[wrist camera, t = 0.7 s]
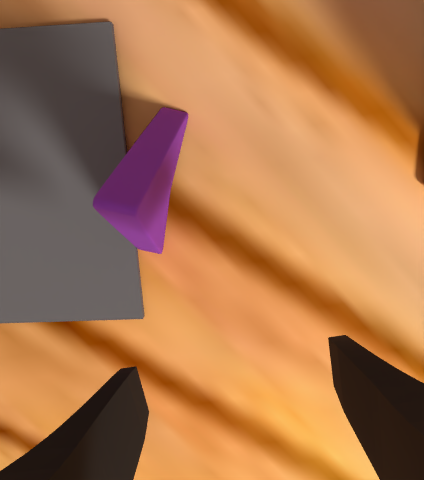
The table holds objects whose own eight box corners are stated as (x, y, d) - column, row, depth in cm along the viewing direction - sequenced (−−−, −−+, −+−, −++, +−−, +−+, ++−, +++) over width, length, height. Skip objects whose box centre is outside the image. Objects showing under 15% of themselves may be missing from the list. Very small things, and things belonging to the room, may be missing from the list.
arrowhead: (161, 176, 25) (162, 45, 16) (182, 181, 25) (194, 52, 16) (120, 300, 20) (90, 202, 11) (146, 306, 20) (136, 213, 11)
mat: (113, 24, 19) (110, 21, 18) (144, 316, 23) (143, 318, 23) (-126, 39, 19) (-134, 37, 19) (-51, 322, 24) (-55, 324, 23)
